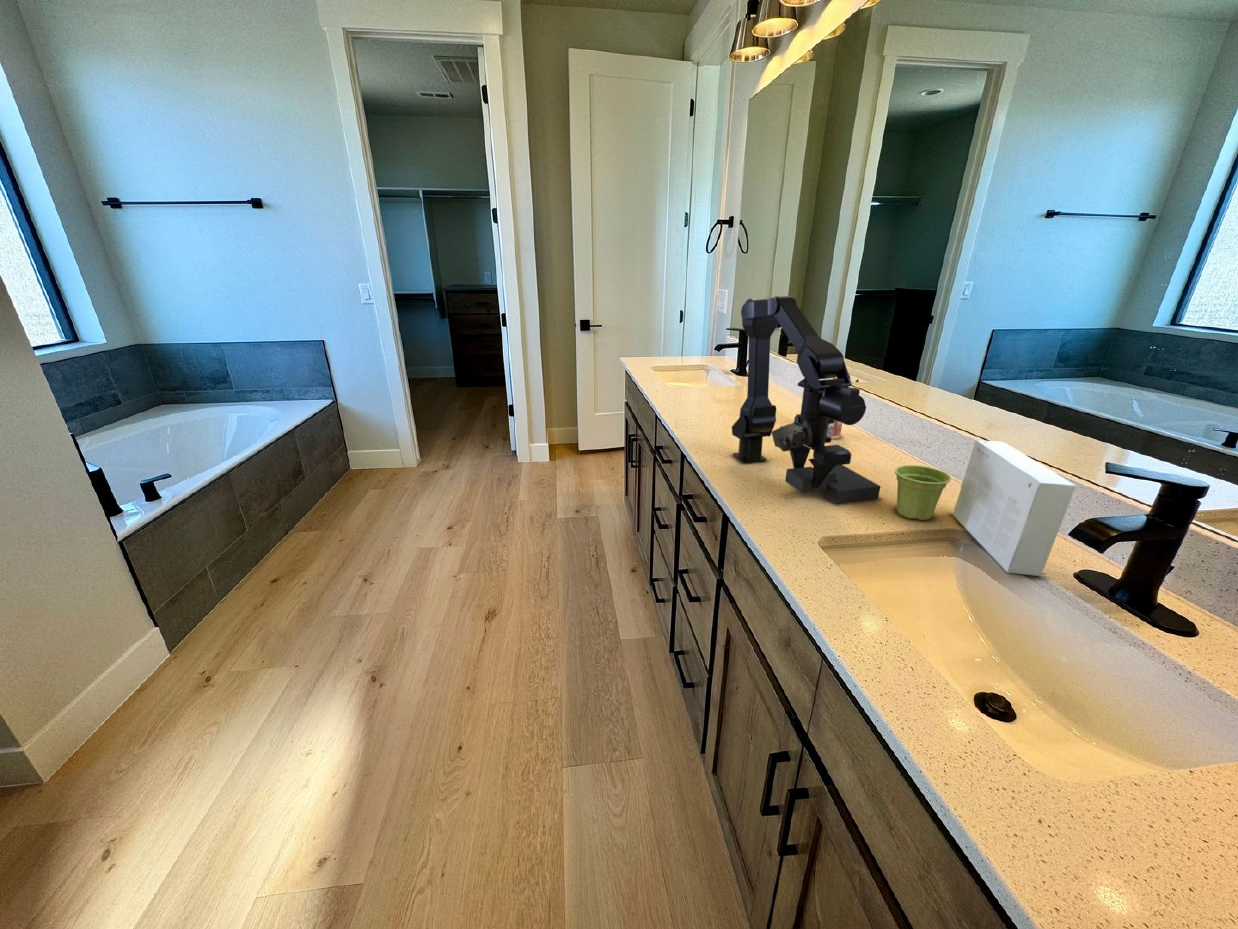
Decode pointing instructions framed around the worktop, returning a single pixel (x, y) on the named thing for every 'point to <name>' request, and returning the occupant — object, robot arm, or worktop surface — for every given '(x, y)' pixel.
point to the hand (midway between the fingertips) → (806, 481)
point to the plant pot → (919, 490)
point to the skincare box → (1012, 506)
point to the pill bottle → (834, 429)
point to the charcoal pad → (850, 487)
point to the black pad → (807, 479)
